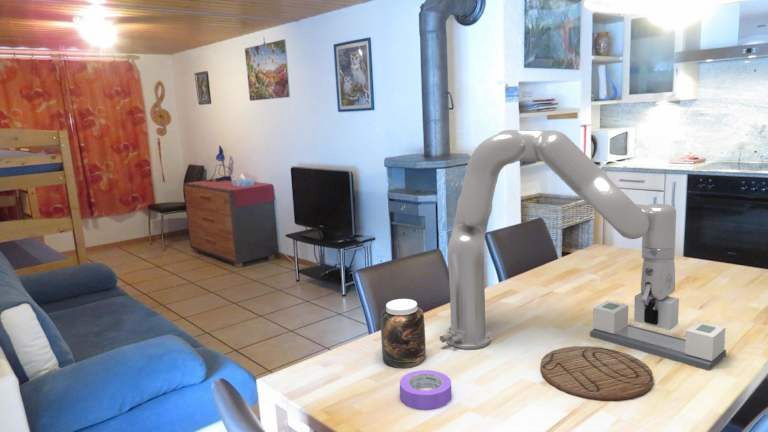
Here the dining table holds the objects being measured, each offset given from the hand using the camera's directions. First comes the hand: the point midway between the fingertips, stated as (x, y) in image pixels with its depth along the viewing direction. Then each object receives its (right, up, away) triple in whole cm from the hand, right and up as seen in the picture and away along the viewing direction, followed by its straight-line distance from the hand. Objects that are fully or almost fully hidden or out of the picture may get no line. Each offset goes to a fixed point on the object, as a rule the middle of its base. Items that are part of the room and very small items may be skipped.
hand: (655, 319), depth 141 cm
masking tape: (-61, -14, -18) cm, 66 cm away
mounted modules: (0, -5, +1) cm, 5 cm away
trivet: (-21, -11, -12) cm, 26 cm away
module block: (0, -1, 0) cm, 1 cm away
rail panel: (0, -7, +1) cm, 7 cm away
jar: (-66, -11, +2) cm, 67 cm away
